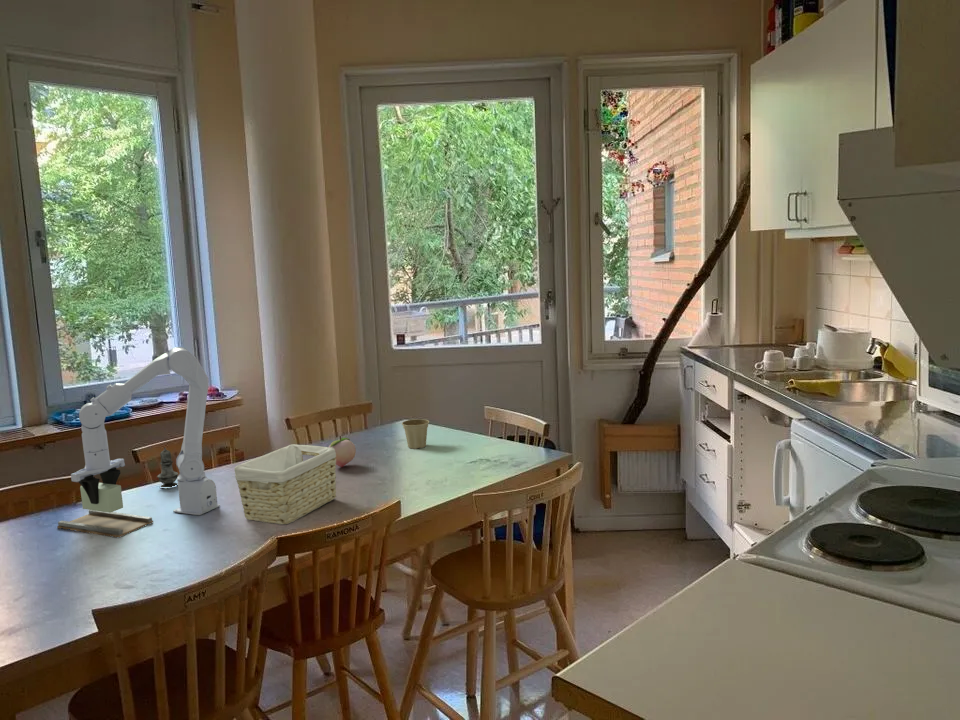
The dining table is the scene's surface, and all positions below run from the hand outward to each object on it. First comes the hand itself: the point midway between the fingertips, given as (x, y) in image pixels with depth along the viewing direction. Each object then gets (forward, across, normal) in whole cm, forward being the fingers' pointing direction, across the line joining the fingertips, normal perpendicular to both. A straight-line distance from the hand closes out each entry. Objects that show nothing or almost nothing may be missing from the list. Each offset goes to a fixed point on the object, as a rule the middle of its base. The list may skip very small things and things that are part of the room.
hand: (102, 500), depth 201 cm
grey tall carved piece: (+7, -31, -10) cm, 33 cm away
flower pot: (+7, -91, +42) cm, 100 cm away
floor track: (+7, 0, 0) cm, 7 cm away
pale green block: (+2, 0, 0) cm, 2 cm away
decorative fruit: (+7, -63, +31) cm, 71 cm away
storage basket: (+7, -25, +40) cm, 48 cm away
